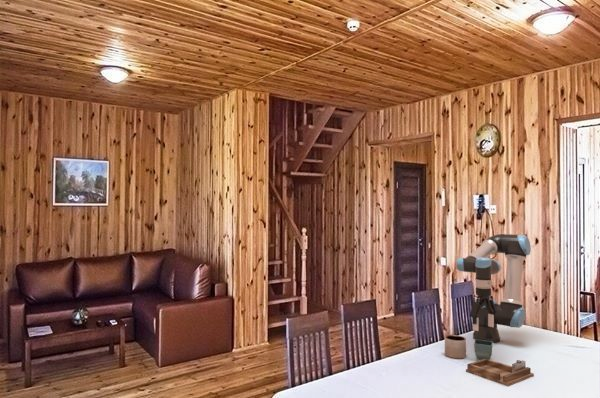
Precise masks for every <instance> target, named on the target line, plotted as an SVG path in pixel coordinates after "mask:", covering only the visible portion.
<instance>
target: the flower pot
mask: <svg viewBox="0 0 600 398" xmlns="http://www.w3.org/2000/svg"><path fill="white" fill-rule="evenodd" d="M493 345H494V343H493V342H492V341H485V340H477V339H475V340H474V342H473V347H474V348H473V349H474V355H475V357H476V359H477V361H479V360H482V359H485V358H486V359H489V360H491V357H492V354H493Z"/></svg>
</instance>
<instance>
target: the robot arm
mask: <svg viewBox="0 0 600 398" xmlns="http://www.w3.org/2000/svg"><path fill="white" fill-rule="evenodd" d="M531 248H532V247H531V242H530V239H529V237H528V236H527V235H524V234H511V233H510V234H507V233H504V234H503V233H499V234H495V235H491V236H490V237H487V238H486V239H484V240H483V241H482V242H481V245H479V247H477V248H476V249H475V250H473V251H472V252H471V253H470V254H469V255H467V256H466V257H458V258H457V260H456V263H455V265H456V269H457V270H458V271H459V272H463V273H471V274H472V273H473V274H475V295H476V296H477V297H473V301H472V306H471V309H470V312H469V317H471V318H472V330H473V334H472V339H473V340H474V341H475V339H477V340H485V341H492V342H493V344H498V343H500V342H501V336H500V334H499V333H500V332H499V330H498V325H500V326H505V327H510V328H518V329H519V328H521V327H522V326H523V325H524V323H525V320H526V315H527V314H526V309H525V308H524V307H523V304H522V302H521V292H522V279H523V268H524V267H523V265H524V260H525V261H526V259H527V256H529V255H531V253H532V252H531V251H532V250H531ZM494 254H504V257H505V258H506V266H505V267H506V268H505V269H506V270H505V280H504V281H505V282H504V292H503V299H502V300H500V304H498V302H497V300H494V296H493V295H492V275H496V274H498V273H499V272H500V271H501V268H502V267H501V264H500V263H501V262H499V261H498V260H496V259H491V258H489V257H490V256H491V255H494Z"/></svg>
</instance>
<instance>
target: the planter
mask: <svg viewBox="0 0 600 398" xmlns="http://www.w3.org/2000/svg"><path fill="white" fill-rule="evenodd" d="M444 355H445V356H447V357H448V358H450V359H455V360H456V359H457V360H460V359H461V360H463V359H464V358H466V357H467V338H466V337H464V336H463V335H462V336H461V335H457V334H456V335H455V334H449V335H448V334H447V335H445V336H444Z"/></svg>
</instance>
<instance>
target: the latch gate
mask: <svg viewBox="0 0 600 398" xmlns="http://www.w3.org/2000/svg"><path fill="white" fill-rule="evenodd" d="M526 365H527V363H526V360H524V359H523V360H522V359H521V360H519V359H517V360H516V362H514V363H512V364H511V366H512V372H515V371H518V370H521V369H523V368H526Z"/></svg>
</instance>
